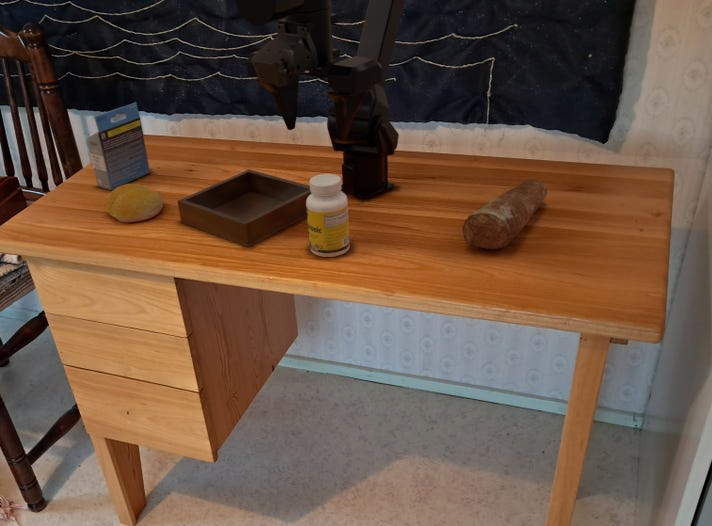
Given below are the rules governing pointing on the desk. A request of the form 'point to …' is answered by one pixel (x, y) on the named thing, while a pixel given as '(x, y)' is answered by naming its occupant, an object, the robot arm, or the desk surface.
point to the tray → (246, 207)
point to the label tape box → (118, 148)
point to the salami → (504, 216)
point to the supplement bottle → (327, 216)
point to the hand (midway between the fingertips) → (316, 134)
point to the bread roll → (133, 203)
